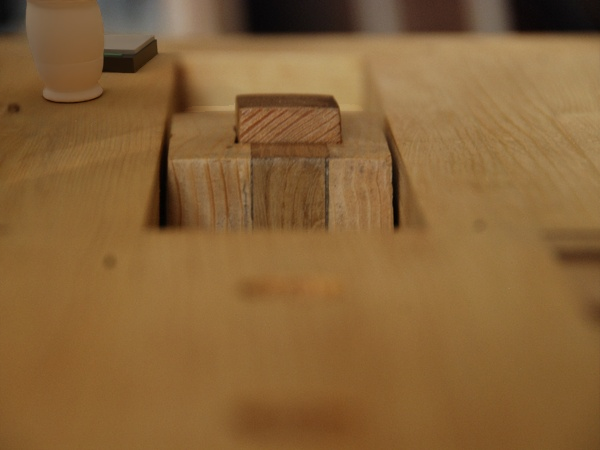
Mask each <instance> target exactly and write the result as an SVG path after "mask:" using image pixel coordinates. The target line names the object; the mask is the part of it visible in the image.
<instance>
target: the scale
mask: <svg viewBox="0 0 600 450" xmlns="http://www.w3.org/2000/svg"><path fill="white" fill-rule="evenodd" d="M158 53H159V51H158V39H156V38H155V34H130V33H128V34H127V33H126V34H125V33H124V34H123V33H104V52H103V69H102V73H133V74H134V73H136V72H137V71H138V70H140V69H141V68H142V67H143V66H145V64H147V63H148V62H149V61H150V60H152V59H153V58H154V57H155V56H157V54H158Z"/></svg>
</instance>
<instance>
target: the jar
mask: <svg viewBox="0 0 600 450" xmlns="http://www.w3.org/2000/svg"><path fill="white" fill-rule="evenodd" d="M25 1H26V9H25V31H26V38H27V43H28V46H29V50H30V53H31V56H32V59H33V63H34V67H35V70H36V73H37V74H38V77H39V78H40V80H41V82H42V83H43V84H44V88H43V90H42V96H43V97H42V98H44V99H46V100H48V101H52V102H57V103H76V102H84V101H90V100H93V99H96V98H98V97H100V96H101V95H102V94H103V91H104V90H103V87H102V86H101V85H100V83H99V81H100V79H101V76H102V73H103V72H102V69H103V52H104V34H105V28H104V27H105V25H104V21H103V16H102V12H101V9H100V6H99V5H100V4H99V3H98V1H97V0H25Z"/></svg>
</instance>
